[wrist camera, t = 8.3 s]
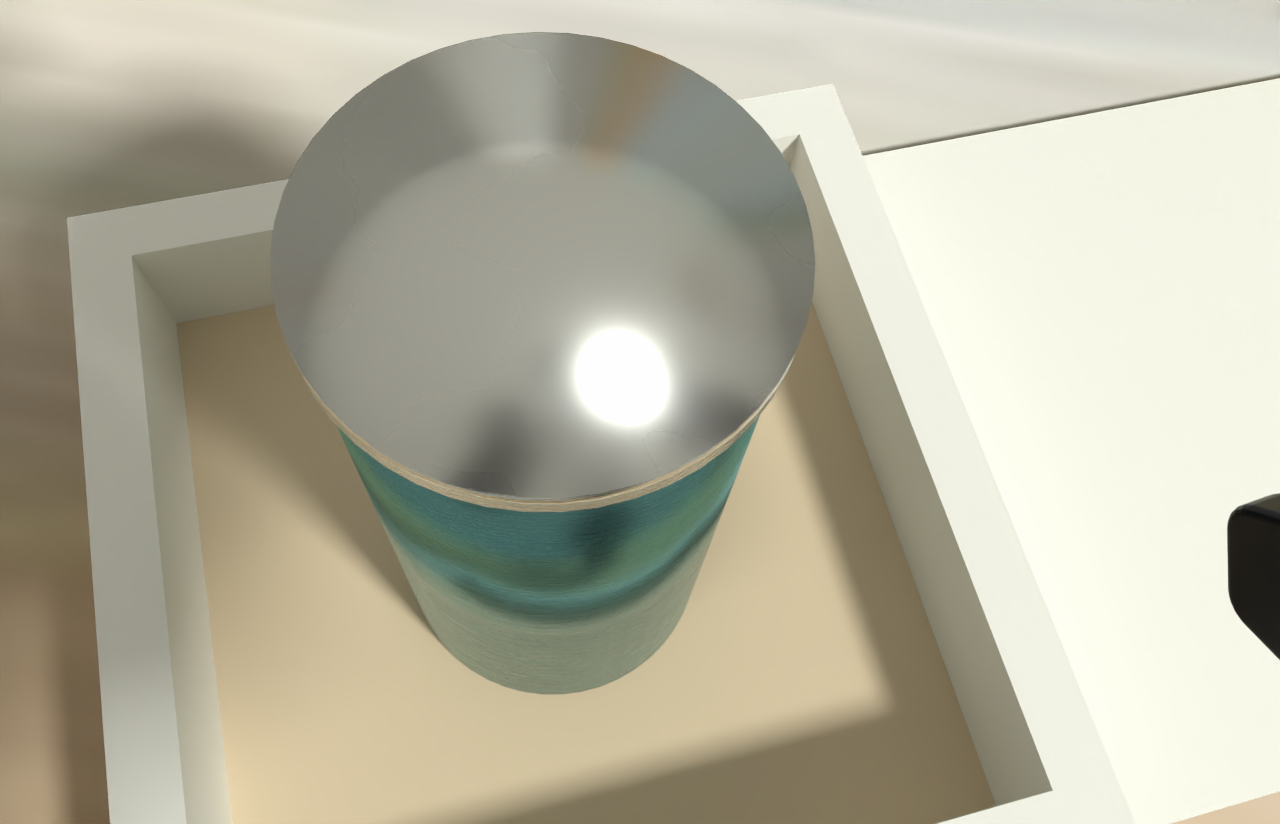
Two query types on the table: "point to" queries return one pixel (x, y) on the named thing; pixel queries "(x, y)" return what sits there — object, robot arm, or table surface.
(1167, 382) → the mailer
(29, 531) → the table surface
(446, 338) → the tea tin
